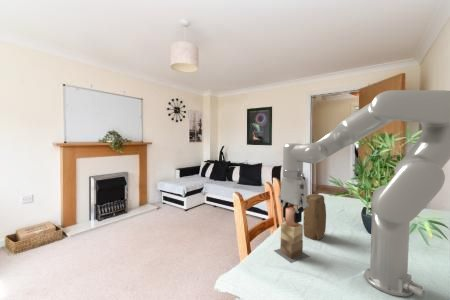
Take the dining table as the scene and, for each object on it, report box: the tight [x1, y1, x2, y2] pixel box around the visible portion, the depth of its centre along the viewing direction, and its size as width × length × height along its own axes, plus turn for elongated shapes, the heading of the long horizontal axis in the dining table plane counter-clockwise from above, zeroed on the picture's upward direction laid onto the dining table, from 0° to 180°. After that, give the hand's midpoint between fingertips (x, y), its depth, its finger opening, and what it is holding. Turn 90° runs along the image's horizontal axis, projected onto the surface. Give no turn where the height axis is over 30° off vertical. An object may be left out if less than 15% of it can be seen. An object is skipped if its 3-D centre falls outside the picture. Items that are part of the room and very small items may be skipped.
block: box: [302, 193, 327, 241], centre depth 102 cm, size 11×8×20 cm
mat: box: [273, 247, 311, 264], centre depth 86 cm, size 10×10×1 cm
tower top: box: [280, 221, 304, 244], centre depth 85 cm, size 6×6×6 cm
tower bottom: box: [279, 237, 304, 259], centre depth 86 cm, size 6×6×6 cm
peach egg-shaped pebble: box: [285, 206, 300, 227], centre depth 85 cm, size 5×5×6 cm
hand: (292, 219), depth 85 cm, fingers open, 5 cm apart
